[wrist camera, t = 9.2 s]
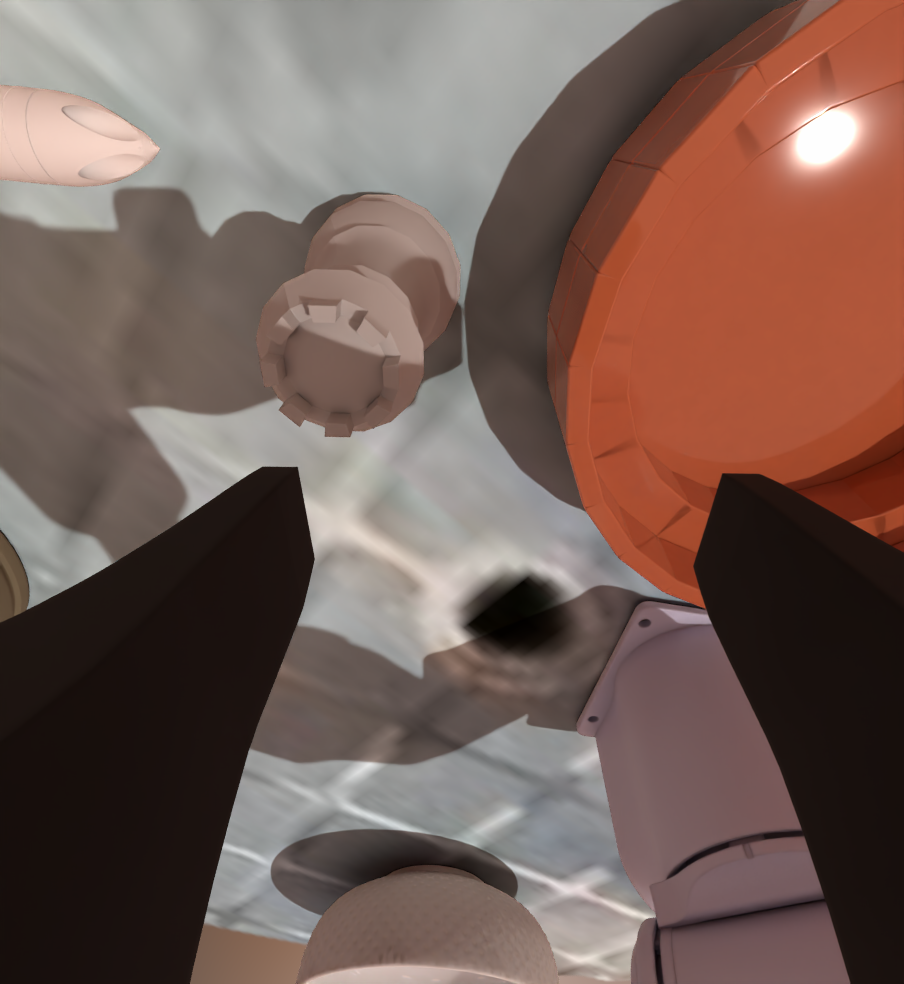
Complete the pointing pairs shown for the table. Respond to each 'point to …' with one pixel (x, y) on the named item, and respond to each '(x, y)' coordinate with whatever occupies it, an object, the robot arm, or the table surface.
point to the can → (11, 582)
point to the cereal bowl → (427, 934)
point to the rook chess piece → (360, 315)
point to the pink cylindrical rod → (66, 140)
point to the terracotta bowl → (744, 291)
